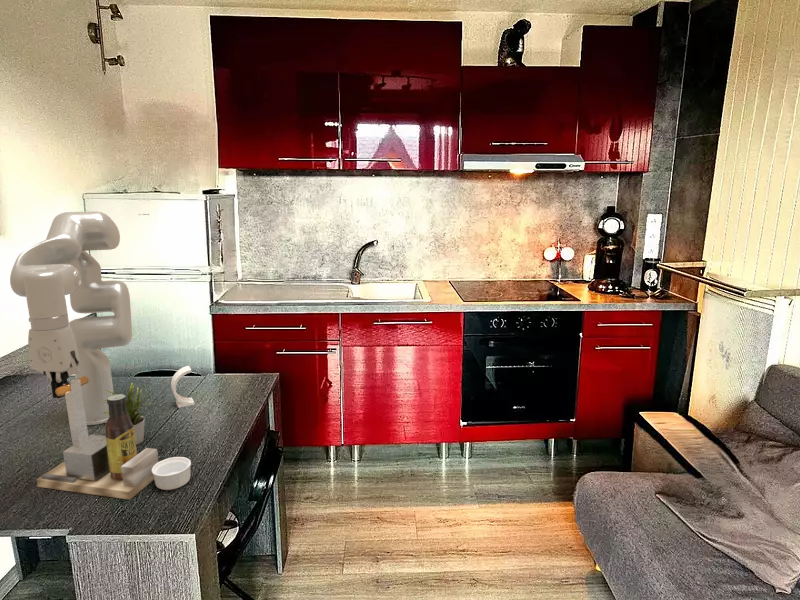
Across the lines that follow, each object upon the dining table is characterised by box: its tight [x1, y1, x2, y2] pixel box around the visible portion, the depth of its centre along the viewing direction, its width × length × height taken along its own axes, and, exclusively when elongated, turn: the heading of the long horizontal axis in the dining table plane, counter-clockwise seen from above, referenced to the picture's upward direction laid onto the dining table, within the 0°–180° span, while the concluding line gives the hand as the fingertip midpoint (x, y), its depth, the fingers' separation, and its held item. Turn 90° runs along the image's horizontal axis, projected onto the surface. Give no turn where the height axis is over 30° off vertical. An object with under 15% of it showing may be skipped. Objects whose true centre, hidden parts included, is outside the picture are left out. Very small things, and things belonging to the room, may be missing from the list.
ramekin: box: [152, 456, 192, 491], centre depth 134 cm, size 9×9×4 cm
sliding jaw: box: [55, 376, 110, 481], centre depth 133 cm, size 8×9×23 cm
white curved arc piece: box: [170, 365, 196, 409], centre depth 177 cm, size 5×6×12 cm
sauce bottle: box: [104, 393, 138, 479], centre depth 132 cm, size 7×6×20 cm
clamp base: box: [36, 447, 160, 500], centre depth 135 cm, size 26×13×7 cm, turn 78°
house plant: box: [100, 381, 153, 446], centre depth 153 cm, size 14×14×16 cm
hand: (61, 395), depth 132 cm, fingers closed
